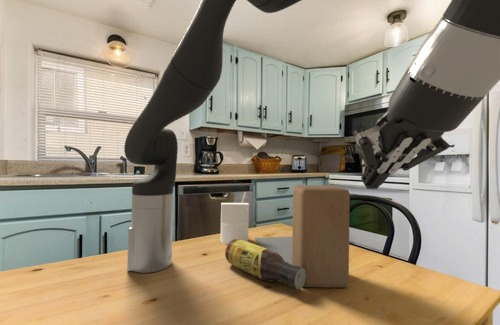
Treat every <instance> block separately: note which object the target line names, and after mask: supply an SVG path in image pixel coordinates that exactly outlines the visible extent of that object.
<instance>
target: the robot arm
mask: <svg viewBox="0 0 500 325" xmlns="http://www.w3.org/2000/svg"><path fill="white" fill-rule="evenodd" d="M236 1H237V0H200V4H199V5H198V7H197V9H196V12H195V13H194V16H193V18H192V20H191V22H190V24H189V25H188V27H187V29H186V31H185V33H184V35H183V37H182V39H181V40H180V42H179V44H178V46H177V47H176V49H175V51H174V53H173V54H172V57H171V58H170V60H169V62H168V63H167V65H166V67H165V69H164V70H163V74H162V76H161V78H160V80H159V81H158V84H157V86H156V88H155V90H154V92H153V94H152V95H151V96H150V99H149V101H148V102H147V104H146V106H145V107H144V108H143V110H142V111H141V113H140V114H139V116H138V117H137V119H136V120H135V122H134V123H133V125H132V126H131V128H130V129H129V131H128V133H127V136H126V138H125V141H124V146H123V147H124V152H123V153H124V155H125V158H126V160H127V161H128V162H129V163H131V164H134V165H140V166H154V167H153V168H154V169H153V171H152V172H150V174H148V175H147V176H145V177H143V178H140V179H138V180H136V181H134V182H133V183H132V185H131V186H132V187H131V222H130V223H131V224H130V225H131V226H129V228H128V231H127V261H126V262H127V265H126V266H127V269H126V270H127V272H134V273H135V272H136V273H142V274H147V273H149V274H150V273H155V272H159V271H162V270H165V269H167V268H168V267H170V266H171V265H172V259H173V223H174V222H173V221H174V219H173V218H174V216H173V213H174V211H173V210H174V187H175V183H176V177H177V162H178V152H179V151H178V149H179V148H178V147H179V146H178V145H179V144H178V138H177V134H176V133H175V132H174V131H173V130H172V129H169V128H166V127H167V126H169V125H170V124H172V123H174V122H176V121H178V120H179V119H181V118H184V117H185V116H187V115H189V114H191V113H192V112H194V111H195V110H197V109H198V108H200V107H201V106H202V105H203V104H204V103H205V102H206V100H207V99H208V97H209V96H210V94H211V93H212V92H213V90H214V89H215V87H216V86H217V85H218V83H219V82H220V79H221V76H222V71H223V70H222V69H223V59H224V57H223V53H224V52H223V51H224V50H223V41H224V40H223V39H224V31H225V27H226V24H227V23H226V22H227V20H228V19H229V15H230V13H231V11H232V9H233V7H234V5H235V3H236ZM246 1H247V2H249V3H250V4H251V5H252V6H253V7H255V8H256V9H258V10H260V11H261V12H263V13H266V14H272V13H278V12H281V11H283V10H285V9H287V8H289V7H291V6H294V5H295V4H298V3H299V2H301V1H302V0H246ZM499 81H500V0H451V1H450V2H449V4H448V6H447V8H446V9H445V11H444V12H443V14H442V17H440V19H439V20H438V22H437V24H436V25H435V26H434V27H433V29H432V30H431V31H430V33H429V34H428V35H427V37H426V38H425V39H424V41H423V42H422V44H421V46H420V47H419V48H418V51H417V52H416V54H415V55H414V57H413V59H412V61H411V62H410V64H409V65H408V67H407V69H406V71H405V72H404V74H403V76H402V77H401V78H400V80H399V82H398V83H397V85H396V87H395V88H394V90H393V93H391V95H390V97H389V99H388V107H387V110H386V112H385V113H384V114H383V115H382V116H380V117H379V118H378V119H377V121H376V123H375V126H372V127H371V128H369V129H366V130H363V129H362V128H357V129H355V130H354V131H353V132H352V135H353V138H354V142H355V144H356V147H357V149H358V153H359V155H360V158H361V160H363V163H365V165H366V167H367V168H366V169H365V171H363V173H362V175H361V178H360V179H361V182H362V183H363V184H364V186H365V188H366V189H367V190H377V189H378V188H379V187H380V186H381V185H383V184H384V182H385V181H386V180H387V179H388V178H389V176H390V175H391V174H395V173H396V172H397V171H399V170H402V171H409V170H411V169H412V168H414V167H416V166H418V165H420V164H422V163H423V162H425V161H427V160H429V159H432V158H433V157H435V156H437V155H439V154H440V153H442V152H444V151H446V150H448V149H449V148H450V144H449V142H448V141H447V140H446V139H444V138H443V135H444V133H448V132H453V131H454V130H457V128H458V127H459V126H460V125H461V124H462V123H463V122H464V120H465V119H467V118H468V116H469V115H470V114H471V113H472V112H473V111H474V110H475V108H476V107H477V106H478V105H479V104H480V103H481V102H482V100H484V99H485V97H486V96H487V95H488V94H489V93H490V91H491V90H492V89H493V88H494V87H495V86H496V85H497V83H499Z"/></svg>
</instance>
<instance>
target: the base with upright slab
mask: <svg viewBox="0 0 500 325" xmlns="http://www.w3.org/2000/svg"><path fill="white" fill-rule="evenodd" d="M220 205H221V207H220V243H222V244H223V245H228V244H229V242H230V241H232V240H234V239H240V240H244V241H247V242H249V220H250V218H249V217H250V216H249V215H250V214H249V212H250V210H249V209H250V206H249V205H250V203H249V202H221V203H220Z"/></svg>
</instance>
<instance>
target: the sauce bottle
mask: <svg viewBox="0 0 500 325" xmlns="http://www.w3.org/2000/svg"><path fill="white" fill-rule="evenodd" d="M226 245H227V246H226V248H225V252H224V253H225V254H224V256H225V260H226V261H227V262H228V263H229V264H231V265H232V266H234V267H235V268H238V269H240V270H241V271H244V272H246V273H248V274H250V275H253V276H254V277H256V278H259V279H260V280H262V281H269V282H275V283H276V282H281V283H284V284H287V285H289V286H290V287H291V288H293V289H296V290H301V289H302V288H304V286H303V285H304V283H305V280H306V271H305V269H304V268H302V267H300V266H294V265H291V264H289V263H288V262H285V261H284V260H283V258H282V257H281V256H280V255H279V254H278V253H276V252H273V251H271V250H269V249H266V248H263V247H260V246H259V244H258V245H257V244H254V243H251V242H249V241H248V242H247V241H244V240H240V239H234V240H232V241H230V242H229V244H226Z"/></svg>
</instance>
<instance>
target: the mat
mask: <svg viewBox="0 0 500 325" xmlns="http://www.w3.org/2000/svg"><path fill="white" fill-rule="evenodd" d="M254 240H255V241H256V242H257V244H258V246H260V247H263V248H266V249H269V250H271V251H273V252H276V253H278V254H279V255H280V256H281V257H282V258H283V260H284V261H285V262H288V263H289V264H291V265H292V243H293V235H291V236H269V237H268V236H267V237H266V236H265V237H264V236H263V237H254Z"/></svg>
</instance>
